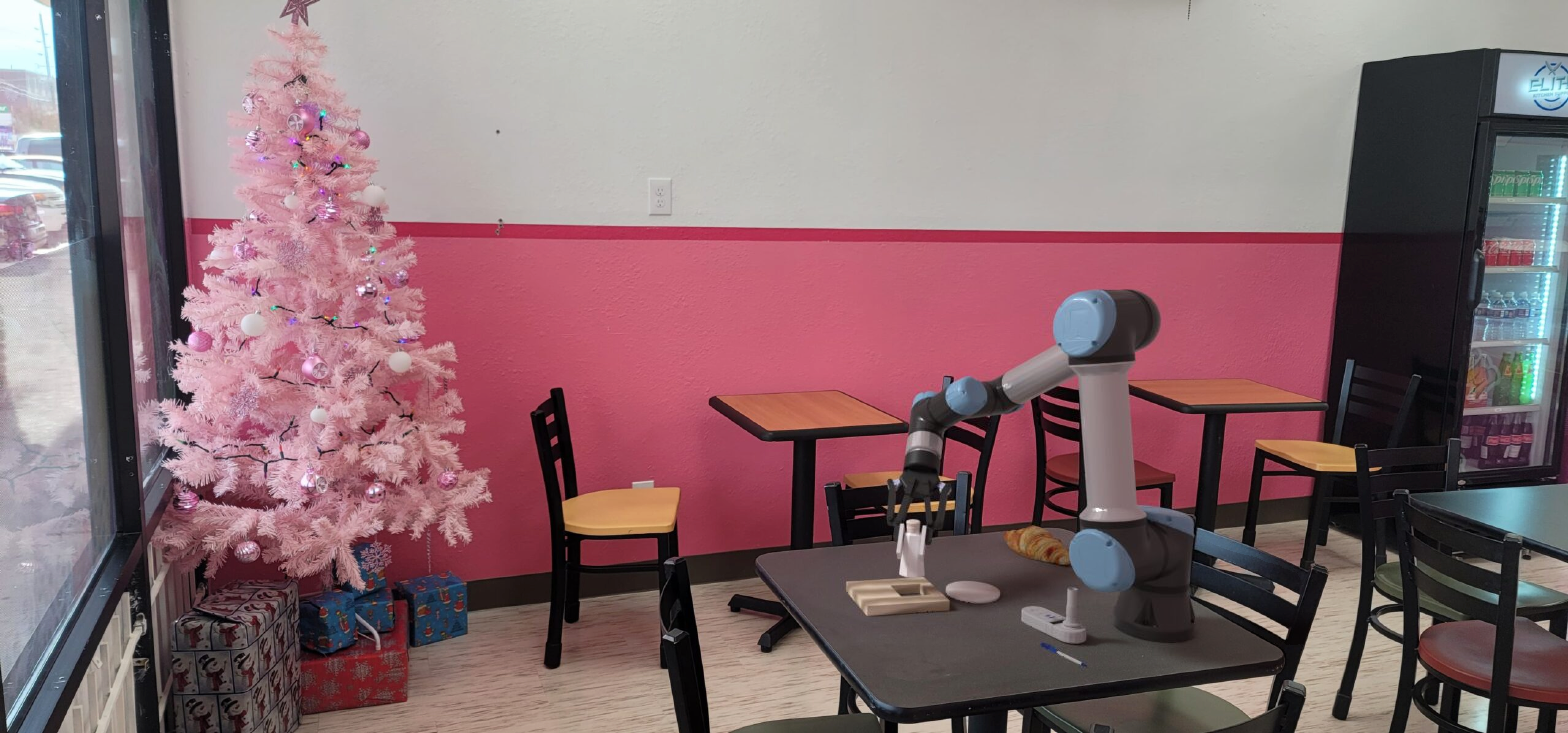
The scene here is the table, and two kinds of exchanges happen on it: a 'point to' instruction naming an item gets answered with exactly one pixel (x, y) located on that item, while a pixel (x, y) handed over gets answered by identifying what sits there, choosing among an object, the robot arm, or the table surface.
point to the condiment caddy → (896, 596)
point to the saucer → (972, 592)
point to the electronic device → (1057, 620)
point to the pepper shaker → (912, 551)
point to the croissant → (1037, 545)
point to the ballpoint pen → (1061, 653)
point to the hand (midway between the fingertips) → (910, 556)
